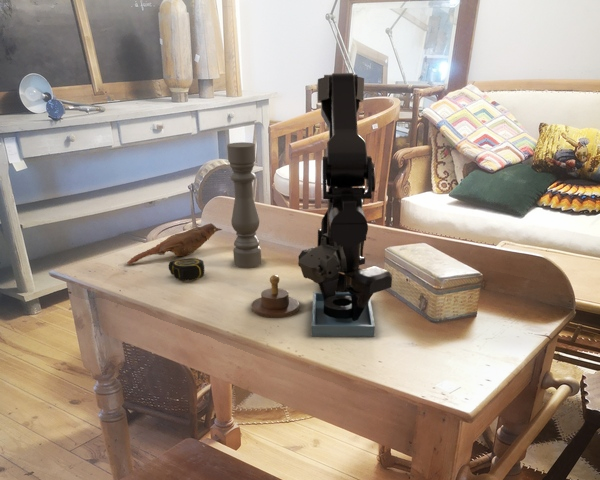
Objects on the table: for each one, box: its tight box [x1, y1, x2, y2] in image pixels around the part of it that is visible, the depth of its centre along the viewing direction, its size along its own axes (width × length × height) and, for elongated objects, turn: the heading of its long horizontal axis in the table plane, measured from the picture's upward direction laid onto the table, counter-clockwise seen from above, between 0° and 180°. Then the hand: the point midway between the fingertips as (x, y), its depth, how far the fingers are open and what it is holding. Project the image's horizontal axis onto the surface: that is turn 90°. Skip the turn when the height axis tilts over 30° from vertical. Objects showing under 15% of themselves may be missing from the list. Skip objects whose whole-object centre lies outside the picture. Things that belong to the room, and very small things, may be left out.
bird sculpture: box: [126, 222, 223, 266], centre depth 139 cm, size 7×25×5 cm, turn 127°
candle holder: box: [226, 141, 262, 269], centre depth 128 cm, size 6×6×25 cm
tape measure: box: [167, 257, 206, 282], centre depth 126 cm, size 7×7×4 cm
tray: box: [311, 291, 376, 338], centre depth 108 cm, size 15×11×2 cm
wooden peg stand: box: [251, 274, 300, 319], centre depth 111 cm, size 9×9×6 cm
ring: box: [324, 295, 352, 319], centre depth 107 cm, size 7×7×2 cm
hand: (341, 314), depth 108 cm, fingers closed on ring, 7 cm apart
